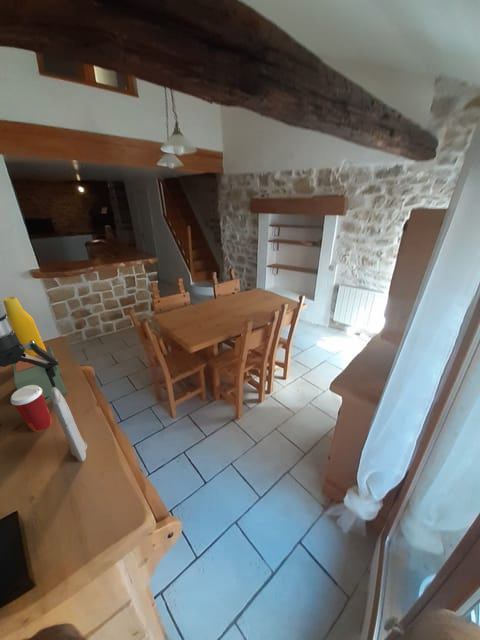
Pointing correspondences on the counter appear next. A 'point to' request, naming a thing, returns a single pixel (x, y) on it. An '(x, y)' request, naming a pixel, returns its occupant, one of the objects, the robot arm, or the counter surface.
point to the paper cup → (32, 407)
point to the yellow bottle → (22, 324)
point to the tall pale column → (68, 425)
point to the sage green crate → (37, 376)
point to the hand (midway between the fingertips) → (27, 395)
